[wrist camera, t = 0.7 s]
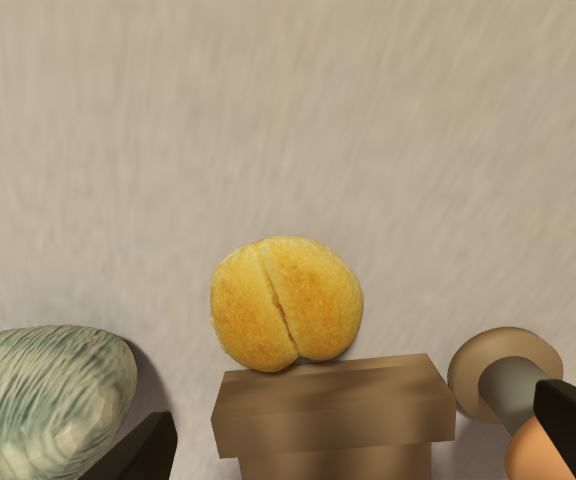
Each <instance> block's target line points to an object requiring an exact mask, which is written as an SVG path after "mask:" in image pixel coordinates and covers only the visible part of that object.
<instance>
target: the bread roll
mask: <svg viewBox="0 0 576 480" xmlns="http://www.w3.org/2000/svg"><path fill="white" fill-rule="evenodd" d="M210 302H211V317H212V325H213V327H214V328H215V330H216V335H217V337H218V340H219V342H220V345H221V348H222V349H223V350H224V352H225V353H227V354H229V355H230V356H231V357H232V358H233V359H234V360H235V361H236V362H238V363H239V364H241V365H243V366H245V367H248V368H251V369H254V370H258V371H262V372H276V371H279V370H281V369H284V368H286V367H287V366H289V365H290V364H292V363H293V362H294V361H295V360H296V359H297V358H299V357H301V356H302V357H305V358H309V359H313V360H319V361H322V360H329V359H332V358H334V357H336V356H337V355H339V354H341V353H342V352H343V351H345V350H346V349H347V348H348V347H349V345H350V344H351V343H352V342H353V341H354V339H355V337H356V335H357V333H358V330H359V328H360V324H361V319H362V314H363V308H364V299H363V292H362V290H361V286H360V283H359V281H358V279H357V277H356V275H355V274H354V272H353V270H352V269H351V268H350V267H349V266H348V265H347V263H346V262H344V261H343V259H342V258H341V257H340V256H339V255H338V254H336V253H335V252H334V251H333V250H332V249H330V248H328V247H327V246H325V245H323V244H321V243H319V242H317V241H314V240H312V239H309V238H305V237H299V236H289V235H284V236H273V237H269V238H266V239H263V240H261V241H258V242H257V243H253V244H249V245H245V246H243V247H241V248H239V249H237V250H235V251H234V252H233V253H231V254H230V255H229V256H227V257H226V258H225V259H224V260H223V261H222V262H221V263H220V264H219V265H218V266H217V268H216V269H215V271H214V273H213V277H212V284H211V301H210Z"/></svg>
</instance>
